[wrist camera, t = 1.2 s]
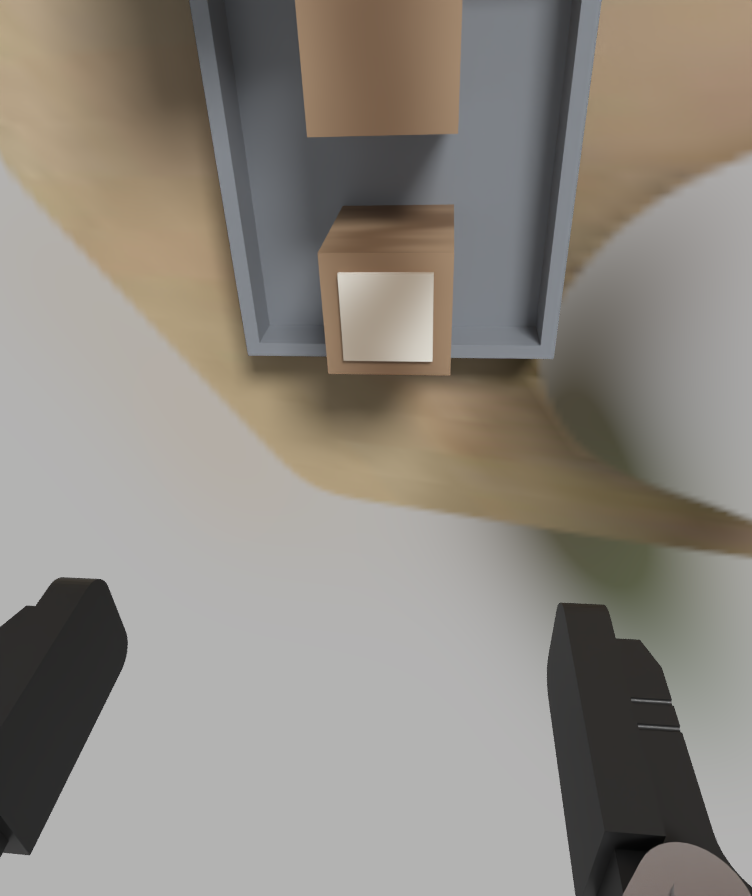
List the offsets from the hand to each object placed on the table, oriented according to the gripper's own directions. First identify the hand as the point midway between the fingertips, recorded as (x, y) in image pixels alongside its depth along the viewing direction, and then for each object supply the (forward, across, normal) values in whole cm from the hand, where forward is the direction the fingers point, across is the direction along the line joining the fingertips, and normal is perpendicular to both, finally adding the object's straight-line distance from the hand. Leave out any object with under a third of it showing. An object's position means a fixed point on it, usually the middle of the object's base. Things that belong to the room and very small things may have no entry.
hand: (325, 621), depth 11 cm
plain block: (+19, 0, -8) cm, 21 cm away
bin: (+20, 0, -4) cm, 20 cm away
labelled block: (+19, 0, 0) cm, 19 cm away
